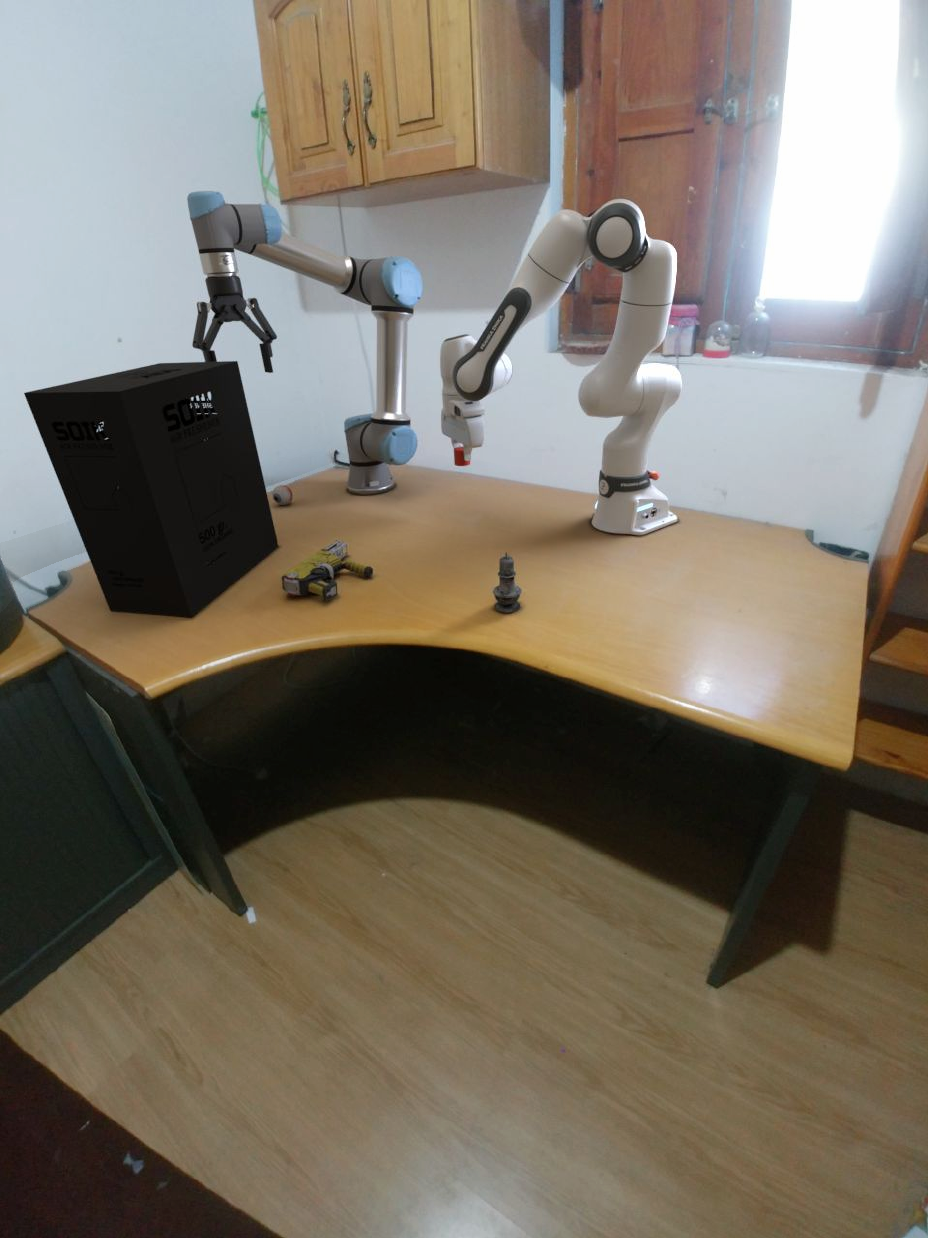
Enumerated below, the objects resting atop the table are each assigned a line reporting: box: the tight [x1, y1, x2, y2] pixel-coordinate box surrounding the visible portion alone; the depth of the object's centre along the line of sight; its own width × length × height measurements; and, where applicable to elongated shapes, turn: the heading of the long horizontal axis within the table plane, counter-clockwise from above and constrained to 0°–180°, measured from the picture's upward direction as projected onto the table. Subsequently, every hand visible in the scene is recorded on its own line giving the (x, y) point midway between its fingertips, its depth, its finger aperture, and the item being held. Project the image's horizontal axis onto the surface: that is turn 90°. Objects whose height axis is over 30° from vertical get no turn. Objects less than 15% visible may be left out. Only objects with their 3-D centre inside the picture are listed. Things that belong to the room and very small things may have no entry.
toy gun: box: [281, 539, 374, 603], centre depth 138 cm, size 5×24×15 cm
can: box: [453, 446, 471, 467], centre depth 162 cm, size 4×4×4 cm
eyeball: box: [271, 484, 294, 506], centre depth 185 cm, size 6×6×6 cm
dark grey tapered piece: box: [492, 552, 523, 613], centre depth 120 cm, size 6×6×12 cm
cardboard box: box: [23, 360, 279, 618], centre depth 133 cm, size 38×20×45 cm, turn 167°
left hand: (244, 376), depth 146 cm, fingers open, 13 cm apart
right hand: (462, 457), depth 162 cm, fingers closed on can, 4 cm apart
